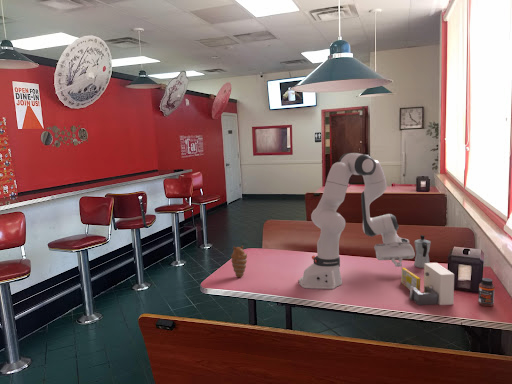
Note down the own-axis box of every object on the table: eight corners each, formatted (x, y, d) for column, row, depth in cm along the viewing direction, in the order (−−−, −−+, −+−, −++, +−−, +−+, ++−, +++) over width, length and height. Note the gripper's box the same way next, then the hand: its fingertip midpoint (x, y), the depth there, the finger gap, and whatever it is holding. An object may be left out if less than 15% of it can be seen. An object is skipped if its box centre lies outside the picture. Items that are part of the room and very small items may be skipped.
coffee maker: (411, 262, 232) (412, 232, 229) (427, 262, 230) (428, 232, 228) (416, 270, 217) (417, 239, 215) (433, 270, 216) (434, 239, 213)
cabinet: (438, 305, 173) (438, 274, 171) (422, 291, 189) (422, 263, 187) (453, 304, 173) (454, 274, 171) (436, 290, 189) (436, 262, 187)
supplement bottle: (479, 305, 171) (480, 281, 169) (477, 300, 176) (478, 276, 175) (495, 307, 169) (496, 282, 167) (492, 301, 174) (493, 277, 173)
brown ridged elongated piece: (233, 280, 214) (231, 248, 211) (231, 275, 221) (229, 245, 219) (248, 278, 215) (247, 247, 213) (246, 274, 223) (244, 243, 220)
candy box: (420, 295, 185) (420, 278, 184) (416, 295, 185) (416, 278, 184) (404, 282, 201) (405, 267, 200) (400, 282, 201) (401, 267, 200)
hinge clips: (415, 305, 174) (416, 292, 173) (408, 297, 182) (408, 285, 181) (439, 304, 174) (440, 291, 173) (430, 296, 182) (431, 284, 182)
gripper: (374, 241, 213) (380, 264, 204) (411, 239, 213) (419, 262, 205) (372, 247, 218) (378, 269, 209) (408, 245, 218) (415, 267, 210)
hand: (398, 266), depth 207 cm, fingers closed
